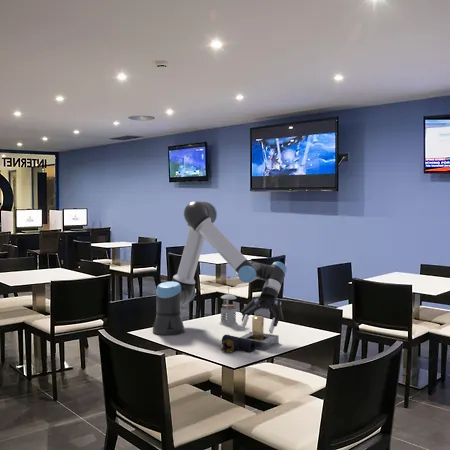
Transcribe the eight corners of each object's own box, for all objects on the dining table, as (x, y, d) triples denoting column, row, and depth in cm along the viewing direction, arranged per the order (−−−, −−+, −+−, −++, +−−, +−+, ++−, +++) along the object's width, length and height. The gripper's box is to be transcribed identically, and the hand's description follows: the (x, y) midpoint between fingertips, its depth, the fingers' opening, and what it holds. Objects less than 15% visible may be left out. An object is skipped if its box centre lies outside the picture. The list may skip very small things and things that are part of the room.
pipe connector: (239, 343, 207) (211, 337, 217) (239, 356, 207) (211, 350, 217) (256, 339, 216) (229, 333, 225) (256, 351, 216) (228, 345, 225)
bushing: (250, 344, 225) (250, 317, 224) (254, 342, 229) (255, 315, 229) (260, 346, 222) (260, 318, 222) (265, 343, 227) (265, 316, 226)
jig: (236, 345, 223) (236, 338, 223) (250, 338, 235) (250, 331, 235) (265, 350, 216) (265, 342, 216) (278, 342, 228) (278, 335, 228)
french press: (221, 326, 260) (221, 277, 259) (216, 321, 271) (216, 274, 270) (240, 325, 262) (240, 276, 262) (234, 320, 274) (234, 273, 273)
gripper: (298, 298, 233) (285, 338, 220) (248, 293, 245) (233, 331, 232) (293, 288, 228) (280, 328, 215) (243, 284, 240) (228, 321, 227)
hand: (256, 330), depth 224 cm, fingers open, 13 cm apart
